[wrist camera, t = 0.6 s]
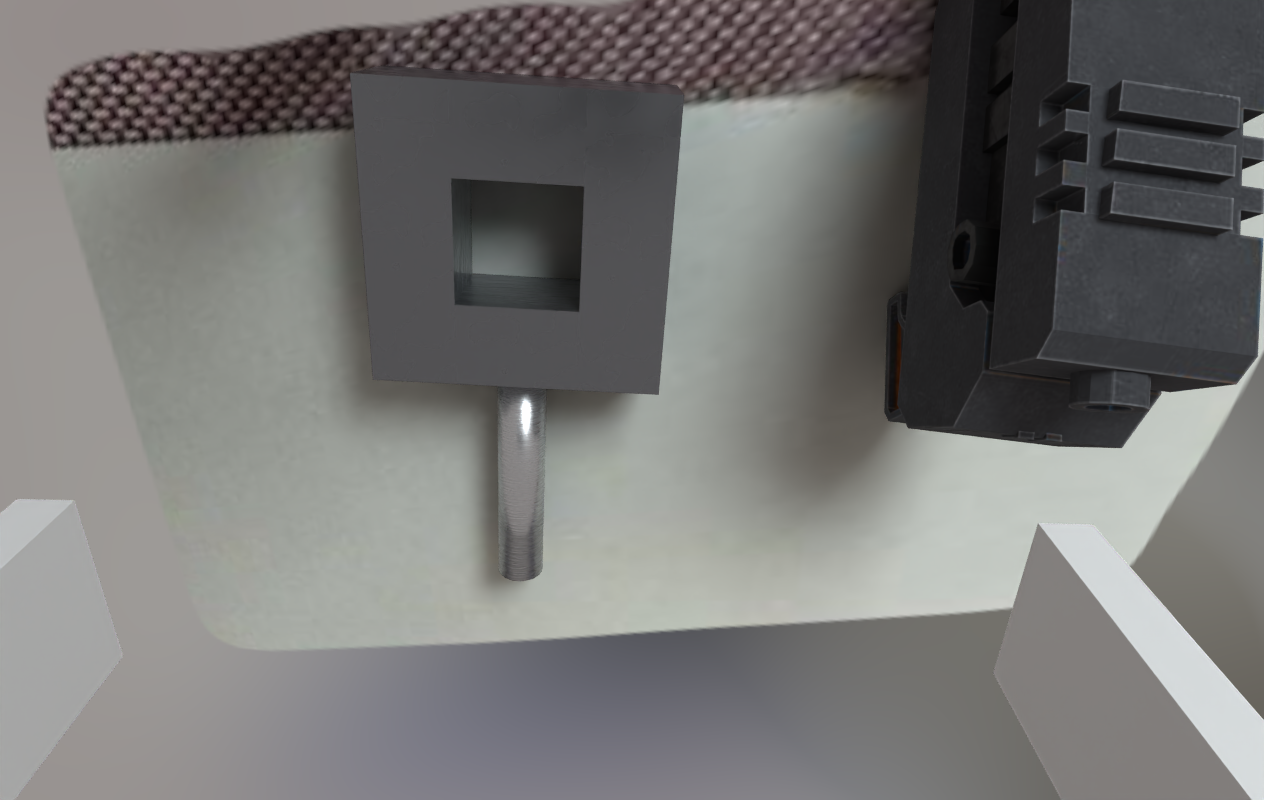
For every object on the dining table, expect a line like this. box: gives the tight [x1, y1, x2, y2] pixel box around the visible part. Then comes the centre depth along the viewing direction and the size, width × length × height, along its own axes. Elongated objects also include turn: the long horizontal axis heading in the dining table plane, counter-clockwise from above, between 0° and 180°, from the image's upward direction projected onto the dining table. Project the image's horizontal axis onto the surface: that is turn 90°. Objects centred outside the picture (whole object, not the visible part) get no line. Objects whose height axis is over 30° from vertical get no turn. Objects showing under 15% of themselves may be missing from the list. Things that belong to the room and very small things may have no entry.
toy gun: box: [884, 0, 1264, 448], centre depth 28 cm, size 6×19×15 cm
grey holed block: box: [350, 65, 684, 581], centre depth 34 cm, size 21×11×4 cm, turn 176°
